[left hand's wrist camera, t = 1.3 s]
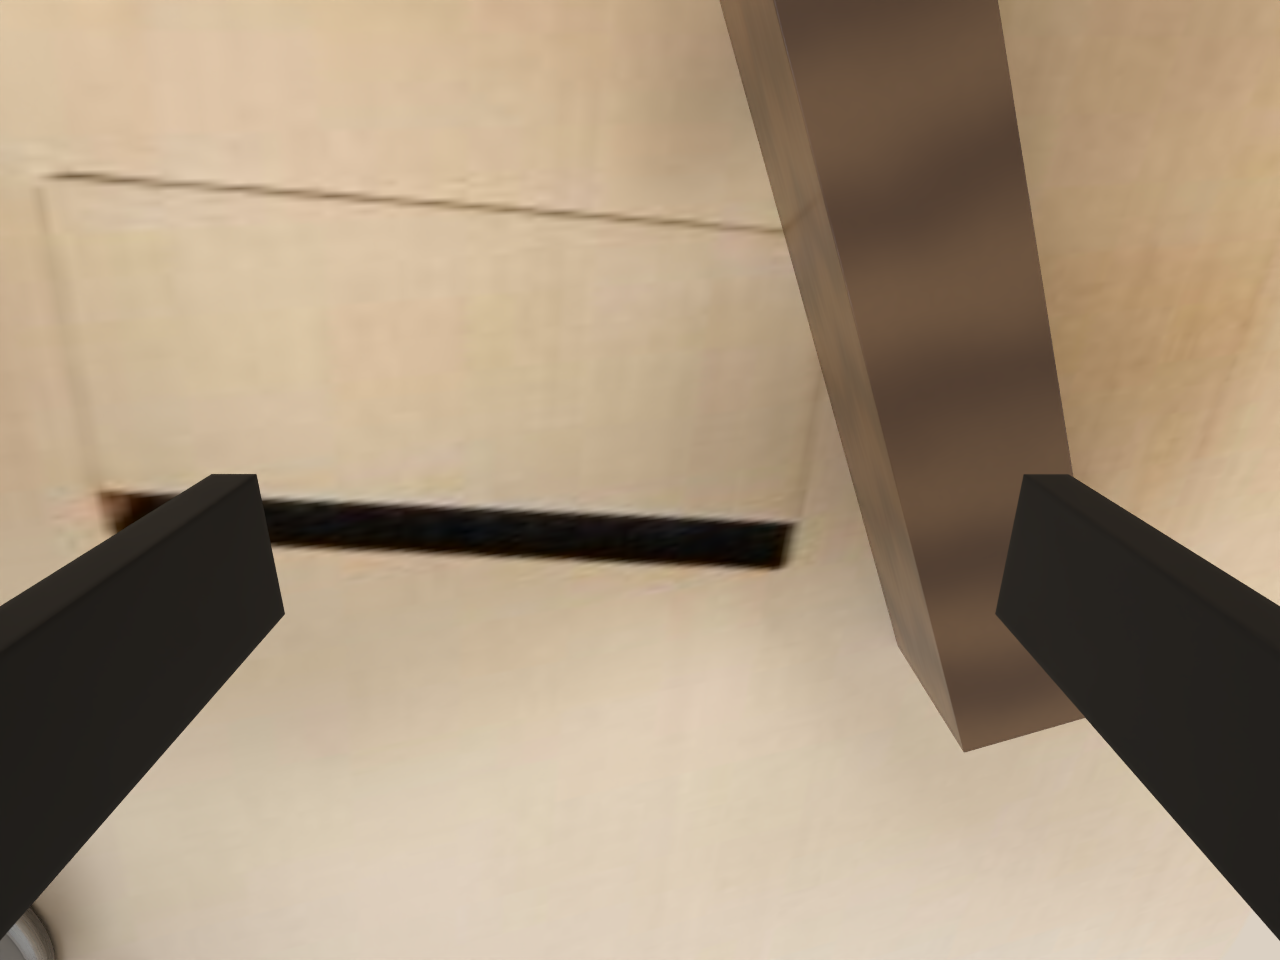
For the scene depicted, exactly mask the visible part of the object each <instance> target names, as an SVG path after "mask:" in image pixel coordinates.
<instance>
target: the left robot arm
mask: <svg viewBox="0 0 1280 960" xmlns="http://www.w3.org/2000/svg"><path fill="white" fill-rule="evenodd" d="M284 614H285V612H284V607H283V602H282V597H281V592H280V587H279V583H278V578H277V573H276V568H275V563H274V558H273V553H272V548H271V543H270V538H269V534H268V529H267V524H266V519H265V514H264V509H263V504H262V499H261V494H260V489H259V484H258V480H257V475H256V474H211V475H210V476H208V477H206V478H205V479H203V480H202V481H200V482H198V483H197V484H195V485H194V486H192V487H190V488H189V489H187V490H186V491H184V492H182V493H181V494H179V495H178V496H176V497H174V498H173V499H171V500H170V501H168V502H166V503H165V504H163V505H162V506H160V507H158V508H157V509H155V510H154V511H152V512H150V513H149V514H147V515H146V516H144V517H142V518H141V519H139V520H138V521H136V522H134V523H133V524H131V525H130V526H128V527H126V528H125V529H123V530H122V531H120V532H118V533H117V534H115V535H114V536H112V537H110V538H109V539H107V540H106V541H104V542H102V543H101V544H99V545H98V546H96V547H94V548H93V549H91V550H90V551H88V552H86V553H85V554H83V555H82V556H80V557H78V558H77V559H75V560H74V561H72V562H70V563H69V564H67V565H66V566H64V567H62V568H61V569H59V570H58V571H56V572H54V573H53V574H51V575H50V576H48V577H46V578H45V579H43V580H42V581H40V582H38V583H37V584H35V585H34V586H32V587H30V588H29V589H27V590H26V591H24V592H22V593H21V594H19V595H18V596H16V597H14V598H13V599H11V600H10V601H8V602H6V603H5V604H3V605H2V606H0V960H55V955H54V949H53V946H52V943H51V939H50V937H49V935H48V933H47V931H46V929H45V927H44V926H43V924H42V922H41V921H40V919H39V918H38V917H37V915H36V914H35V913H34V912H33V910H32V909H31V908H30V906H31V905H32V904H33V903H34V901H35V900H36V899H37V898H38V897H39V896H40V894H41V893H42V892H43V891H44V890H45V889H46V888H47V886H48V885H49V884H50V883H51V882H52V881H53V880H54V878H55V877H56V876H57V875H58V874H59V873H60V872H61V870H62V869H63V868H64V867H65V866H66V865H67V863H68V862H69V861H70V860H71V859H72V858H73V857H74V855H75V854H76V853H77V852H78V851H79V850H80V849H81V847H82V846H83V845H84V844H85V843H86V842H87V841H88V839H89V838H90V837H91V836H92V835H93V834H94V833H95V831H96V830H97V829H98V828H99V827H100V826H101V824H102V823H103V822H104V821H105V820H106V819H107V818H108V816H109V815H110V814H111V813H112V812H113V811H114V810H115V808H116V807H117V806H118V805H119V804H120V803H121V802H122V800H123V799H124V798H125V797H126V796H127V795H128V793H129V792H130V791H131V790H132V789H133V788H134V787H135V785H136V784H137V783H138V782H139V781H140V780H141V779H142V777H143V776H144V775H145V774H146V773H147V772H148V771H149V769H150V768H151V767H152V766H153V765H154V764H155V763H156V761H157V760H158V759H159V758H160V757H161V756H162V754H163V753H164V752H165V751H166V750H167V749H168V748H169V746H170V745H171V744H172V743H173V742H174V741H175V740H176V738H177V737H178V736H179V735H180V734H181V733H182V732H183V730H184V729H185V728H186V727H187V726H188V725H189V723H190V722H191V721H192V720H193V719H194V718H195V717H196V715H197V714H198V713H199V712H200V711H201V710H202V709H203V707H204V706H205V705H206V704H207V703H208V702H209V701H210V699H211V698H212V697H213V696H214V695H215V694H216V693H217V691H218V690H219V689H220V688H221V687H222V686H223V684H224V683H225V682H226V681H227V680H228V679H229V678H230V676H231V675H232V674H233V673H234V672H235V671H236V670H237V668H238V667H239V666H240V665H241V664H242V663H243V662H244V660H245V659H246V658H247V657H248V656H249V655H250V653H251V652H252V651H253V650H254V649H255V648H256V647H257V645H258V644H259V643H260V642H261V641H262V640H263V639H264V637H265V636H266V635H267V634H268V633H269V632H270V631H271V629H272V628H273V627H274V626H275V625H276V624H277V623H278V621H279V620H280V619H281V618H282V617H283V616H284ZM995 614H996V616H997V617H998V618H999V619H1000V620H1001V621H1002V623H1003V624H1004V625H1005V626H1006V627H1007V628H1008V629H1009V631H1010V632H1011V633H1012V634H1013V635H1014V636H1015V637H1016V639H1017V640H1018V641H1019V642H1020V643H1021V644H1022V645H1023V647H1024V648H1025V649H1026V650H1027V651H1028V652H1029V653H1030V655H1031V656H1032V657H1033V658H1034V659H1035V660H1036V662H1037V663H1038V664H1039V665H1040V666H1041V667H1042V668H1043V670H1044V671H1045V672H1046V673H1047V674H1048V675H1049V676H1050V678H1051V679H1052V680H1053V681H1054V682H1055V683H1056V684H1057V686H1058V687H1059V688H1060V689H1061V690H1062V691H1063V693H1064V694H1065V695H1066V696H1067V697H1068V698H1069V699H1070V701H1071V702H1072V703H1073V704H1074V705H1075V706H1076V707H1077V709H1078V710H1079V711H1080V712H1081V713H1082V714H1083V715H1084V717H1085V718H1086V719H1087V720H1088V721H1089V722H1090V723H1091V725H1092V726H1093V727H1094V728H1095V729H1096V730H1097V732H1098V733H1099V734H1100V735H1101V736H1102V737H1103V738H1104V740H1105V741H1106V742H1107V743H1108V744H1109V745H1110V746H1111V748H1112V749H1113V750H1114V751H1115V752H1116V753H1117V754H1118V756H1119V757H1120V758H1121V759H1122V760H1123V761H1124V763H1125V764H1126V765H1127V766H1128V767H1129V768H1130V769H1131V771H1132V772H1133V773H1134V774H1135V775H1136V776H1137V777H1138V779H1139V780H1140V781H1141V782H1142V783H1143V784H1144V785H1145V787H1146V788H1147V789H1148V790H1149V791H1150V792H1151V793H1152V795H1153V796H1154V797H1155V798H1156V799H1157V800H1158V802H1159V803H1160V804H1161V805H1162V806H1163V807H1164V808H1165V810H1166V811H1167V812H1168V813H1169V814H1170V815H1171V816H1172V818H1173V819H1174V820H1175V821H1176V822H1177V823H1178V824H1179V826H1180V827H1181V828H1182V829H1183V830H1184V831H1185V833H1186V834H1187V835H1188V836H1189V837H1190V838H1191V839H1192V841H1193V842H1194V843H1195V844H1196V845H1197V846H1198V847H1199V849H1200V850H1201V851H1202V852H1203V853H1204V854H1205V855H1206V857H1207V858H1208V859H1209V860H1210V861H1211V862H1212V863H1213V865H1214V866H1215V867H1216V868H1217V869H1218V870H1219V872H1220V873H1221V874H1222V875H1223V876H1224V877H1225V878H1226V880H1227V881H1228V882H1229V883H1230V884H1231V885H1232V886H1233V888H1234V889H1235V890H1236V891H1237V892H1238V893H1239V894H1240V896H1241V897H1242V898H1243V899H1244V900H1245V901H1246V903H1247V904H1248V905H1249V906H1250V907H1251V908H1252V909H1253V911H1254V912H1255V913H1256V914H1257V915H1258V916H1259V917H1260V918H1261V920H1262V921H1263V922H1264V923H1265V924H1266V925H1267V927H1268V928H1269V929H1270V930H1271V931H1272V932H1273V933H1274V935H1275V936H1276V937H1277V938H1278V939H1279V940H1280V606H1278V605H1277V604H1275V603H1274V602H1272V601H1270V600H1269V599H1267V598H1266V597H1264V596H1262V595H1261V594H1259V593H1258V592H1256V591H1254V590H1253V589H1251V588H1250V587H1248V586H1246V585H1245V584H1243V583H1242V582H1240V581H1238V580H1237V579H1235V578H1234V577H1232V576H1230V575H1229V574H1227V573H1226V572H1224V571H1222V570H1221V569H1219V568H1218V567H1216V566H1214V565H1213V564H1211V563H1210V562H1208V561H1206V560H1205V559H1203V558H1202V557H1200V556H1198V555H1197V554H1195V553H1194V552H1192V551H1190V550H1189V549H1187V548H1186V547H1184V546H1182V545H1181V544H1179V543H1178V542H1176V541H1174V540H1173V539H1171V538H1170V537H1168V536H1166V535H1165V534H1163V533H1162V532H1160V531H1158V530H1157V529H1155V528H1154V527H1152V526H1150V525H1149V524H1147V523H1146V522H1144V521H1142V520H1141V519H1139V518H1138V517H1136V516H1134V515H1133V514H1131V513H1130V512H1128V511H1126V510H1125V509H1123V508H1122V507H1120V506H1118V505H1117V504H1115V503H1114V502H1112V501H1110V500H1109V499H1107V498H1106V497H1104V496H1102V495H1101V494H1099V493H1098V492H1096V491H1094V490H1093V489H1091V488H1090V487H1088V486H1086V485H1085V484H1083V483H1082V482H1080V481H1078V480H1077V479H1075V478H1074V477H1072V476H1070V475H1069V474H1024V475H1023V480H1022V484H1021V489H1020V494H1019V499H1018V504H1017V509H1016V514H1015V519H1014V524H1013V529H1012V534H1011V538H1010V543H1009V548H1008V553H1007V558H1006V563H1005V568H1004V573H1003V578H1002V583H1001V587H1000V592H999V597H998V602H997V607H996V612H995Z"/></svg>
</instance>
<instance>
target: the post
mask: <svg viewBox="0 0 1280 960" xmlns="http://www.w3.org/2000/svg"><path fill="white" fill-rule="evenodd" d="M720 3H721V7H722V10H723V14H724V17H725V21H726V25H727V28H728V32H729V36H730V39H731V43H732V46H733V50H734V54H735V57H736V61H737V65H738V68H739V72H740V75H741V79H742V83H743V86H744V90H745V94H746V97H747V101H748V104H749V108H750V112H751V115H752V119H753V123H754V126H755V130H756V133H757V137H758V141H759V144H760V148H761V151H762V155H763V159H764V162H765V166H766V170H767V173H768V177H769V180H770V184H771V188H772V191H773V195H774V199H775V202H776V206H777V209H778V213H779V217H780V220H781V224H782V228H783V231H784V235H785V238H786V242H787V246H788V249H789V253H790V257H791V260H792V264H793V267H794V271H795V275H796V278H797V282H798V285H799V289H800V293H801V296H802V300H803V304H804V307H805V311H806V314H807V318H808V322H809V325H810V329H811V333H812V336H813V340H814V343H815V347H816V351H817V354H818V358H819V362H820V365H821V369H822V372H823V376H824V380H825V383H826V387H827V391H828V394H829V398H830V401H831V405H832V409H833V412H834V416H835V420H836V423H837V427H838V430H839V434H840V438H841V441H842V445H843V448H844V452H845V456H846V459H847V463H848V467H849V470H850V474H851V477H852V481H853V485H854V488H855V492H856V496H857V499H858V503H859V506H860V510H861V514H862V517H863V521H864V525H865V528H866V532H867V535H868V539H869V543H870V546H871V550H872V554H873V557H874V561H875V564H876V568H877V572H878V575H879V579H880V582H881V586H882V590H883V593H884V597H885V601H886V604H887V608H888V611H889V615H890V619H891V622H892V626H893V630H894V633H895V637H896V640H897V644H898V647H899V648H900V650H901V652H902V653H903V655H904V656H905V658H906V660H907V661H908V663H909V665H910V666H911V668H912V669H913V671H914V673H915V674H916V676H917V677H918V679H919V681H920V682H921V684H922V686H923V687H924V689H925V690H926V692H927V694H928V695H929V697H930V698H931V700H932V702H933V703H934V705H935V707H936V708H937V710H938V711H939V713H940V715H941V716H942V718H943V719H944V721H945V723H946V724H947V726H948V728H949V729H950V731H951V732H952V734H953V736H954V737H955V739H956V740H957V742H958V744H959V745H960V747H961V748H962V750H963V752H968V751H971V750H975V749H978V748H982V747H985V746H989V745H992V744H996V743H999V742H1003V741H1006V740H1010V739H1013V738H1017V737H1020V736H1024V735H1027V734H1030V733H1034V732H1037V731H1041V730H1044V729H1048V728H1051V727H1055V726H1058V725H1062V724H1065V723H1069V722H1072V721H1076V720H1079V719H1083V718H1085V717H1084V715H1083V714H1082V713H1081V712H1080V711H1079V710H1078V709H1077V707H1076V706H1075V705H1074V704H1073V703H1072V702H1071V701H1070V699H1069V698H1068V697H1067V696H1066V695H1065V694H1064V693H1063V691H1062V690H1061V689H1060V688H1059V687H1058V686H1057V684H1056V683H1055V682H1054V681H1053V680H1052V679H1051V678H1050V676H1049V675H1048V674H1047V673H1046V672H1045V671H1044V670H1043V668H1042V667H1041V666H1040V665H1039V664H1038V663H1037V662H1036V660H1035V659H1034V658H1033V657H1032V656H1031V655H1030V653H1029V652H1028V651H1027V650H1026V649H1025V648H1024V647H1023V645H1022V644H1021V643H1020V642H1019V641H1018V640H1017V639H1016V637H1015V636H1014V635H1013V634H1012V633H1011V632H1010V631H1009V629H1008V628H1007V627H1006V626H1005V625H1004V624H1003V623H1002V621H1001V620H1000V619H999V618H998V617H997V616H996V614H995V612H996V607H997V602H998V597H999V592H1000V587H1001V583H1002V578H1003V573H1004V568H1005V563H1006V558H1007V553H1008V548H1009V543H1010V538H1011V534H1012V529H1013V524H1014V519H1015V514H1016V509H1017V504H1018V499H1019V494H1020V489H1021V484H1022V480H1023V475H1024V474H1069V475H1070V476H1072V477H1073V472H1072V466H1071V460H1070V454H1069V447H1068V441H1067V435H1066V428H1065V422H1064V416H1063V409H1062V403H1061V397H1060V390H1059V384H1058V378H1057V372H1056V365H1055V359H1054V353H1053V346H1052V340H1051V334H1050V327H1049V321H1048V315H1047V308H1046V302H1045V296H1044V290H1043V283H1042V277H1041V271H1040V264H1039V258H1038V252H1037V245H1036V239H1035V233H1034V227H1033V220H1032V214H1031V208H1030V201H1029V195H1028V189H1027V182H1026V176H1025V170H1024V163H1023V157H1022V151H1021V145H1020V138H1019V132H1018V126H1017V119H1016V113H1015V107H1014V100H1013V94H1012V88H1011V82H1010V75H1009V69H1008V63H1007V56H1006V50H1005V44H1004V37H1003V31H1002V25H1001V18H1000V12H999V6H998V0H720Z"/></svg>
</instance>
